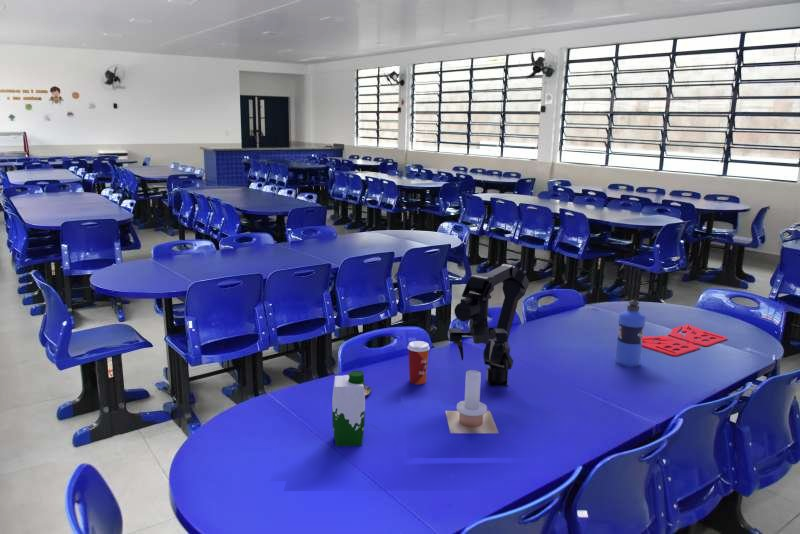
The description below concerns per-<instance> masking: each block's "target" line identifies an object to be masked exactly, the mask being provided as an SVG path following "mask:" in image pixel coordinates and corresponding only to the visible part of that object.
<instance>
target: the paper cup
mask: <svg viewBox="0 0 800 534" xmlns="http://www.w3.org/2000/svg"><path fill="white" fill-rule="evenodd" d="M430 349H431V348H430V345H429V343H428V342H426V341H422V340H414V341H411V342H409V343H408V345H407V351H408V371H409V372H408V373H409V375H408V376H409V382H410V383H411V384H413V385H425V384H426V382H427V375H428V374H427V373H428V361H429V352H430Z"/></svg>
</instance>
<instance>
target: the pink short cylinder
mask: <svg viewBox="0 0 800 534" xmlns="http://www.w3.org/2000/svg"><path fill="white" fill-rule="evenodd" d="M459 422H460V423H461V424H462V425H464V426H467V427H478V426H481V425H482V424H483V415H481V416H467V415H463V414H461V413H460V415H459Z"/></svg>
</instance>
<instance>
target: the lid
mask: <svg viewBox="0 0 800 534" xmlns="http://www.w3.org/2000/svg"><path fill="white" fill-rule="evenodd" d="M481 380H482V372H480V371H479V370H475V369H469V370H467V371H466V372H465V383H464V386H465V387H464V389H465V390H464V400H461V401H459V402H457V404H456V411H458V412H459V413H461V414H463V415H467V416H481V415H483V414H485V413H486V412H487V411H488V406H487V405H486V404H485V403H484V402H482V401H480V400H481V399H480V398H481V397H480V396H481Z"/></svg>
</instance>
